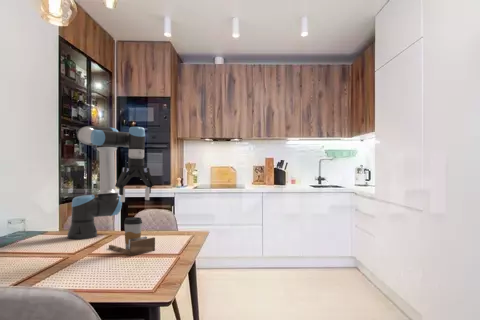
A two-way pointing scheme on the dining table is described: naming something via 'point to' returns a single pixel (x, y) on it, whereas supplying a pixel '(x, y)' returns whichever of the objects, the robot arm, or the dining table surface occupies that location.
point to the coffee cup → (132, 229)
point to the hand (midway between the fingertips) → (135, 200)
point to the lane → (137, 247)
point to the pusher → (136, 240)
